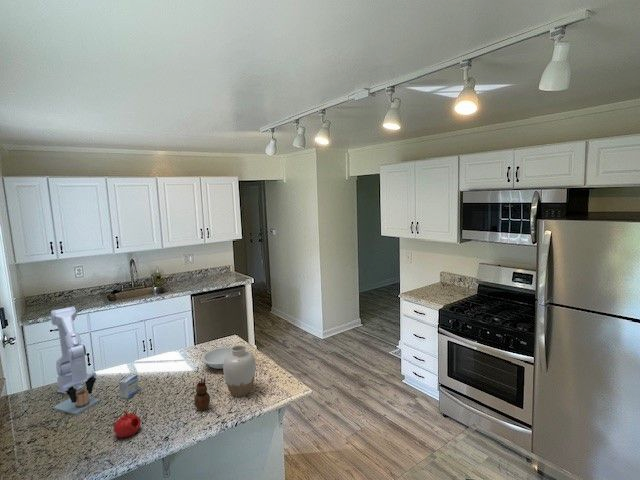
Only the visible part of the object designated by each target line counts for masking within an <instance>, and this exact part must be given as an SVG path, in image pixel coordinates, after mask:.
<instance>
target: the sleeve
mask: <svg viewBox="0 0 640 480" xmlns="http://www.w3.org/2000/svg"><path fill="white" fill-rule="evenodd" d="M89 397H90V394H89V392H88V390H87V389H82V390H79V391H76V402H75V403H76V405H75V406H76V408H83V407H86V406H87V405H89V403H90V400H89Z"/></svg>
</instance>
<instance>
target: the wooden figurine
mask: <svg viewBox="0 0 640 480" xmlns="http://www.w3.org/2000/svg"><path fill="white" fill-rule="evenodd" d="M195 387H196V388H195V393H196V394H195V395H194V398H193V399H194V400H193V401H194V405H195V408H196V409H197V410H198V411H206V410H208V408H209V406H210V404H211V403H210V402H211V398H210V394H209V393H208V392H207V391H208V387H207V385H206V377H204V379H203V378H200V380H198V382H197V383H196V386H195ZM205 409H206V410H205Z"/></svg>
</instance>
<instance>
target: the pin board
mask: <svg viewBox="0 0 640 480" xmlns="http://www.w3.org/2000/svg"><path fill="white" fill-rule="evenodd" d="M89 400H90V403H89V405H87V406H86V407H83V408H76V406H75V405H76V403H74V402H72V401H71V399H70V397H68V399H65V400H64V401H62V402H59V403H58V404H57V405H54V406H53V407H52V409H53V410H56V411H60V412H64V413H67V414H71V415H75V416H78V415H79V414H81V413H82V412H83V411H86V410H87V409H89V408H91V407H92V406H94V405H96V404H98V403H100V402H101V399H100V398H95V397H93V396H89Z"/></svg>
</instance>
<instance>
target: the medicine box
mask: <svg viewBox="0 0 640 480" xmlns="http://www.w3.org/2000/svg"><path fill="white" fill-rule="evenodd" d="M118 383H119V385H118V386H119V395H120V399H130V398H131V397H133V396H134V395H135V394H136V393H138V392H139V391H140V389H139V388H140V385H139V376H138V374H129V375H127V376H126V377H124V378H123V379H121V380H120V381H119V382H118Z"/></svg>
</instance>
